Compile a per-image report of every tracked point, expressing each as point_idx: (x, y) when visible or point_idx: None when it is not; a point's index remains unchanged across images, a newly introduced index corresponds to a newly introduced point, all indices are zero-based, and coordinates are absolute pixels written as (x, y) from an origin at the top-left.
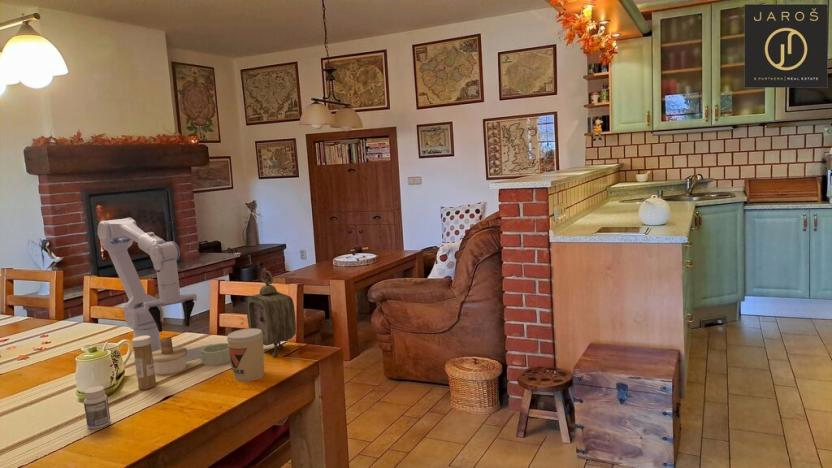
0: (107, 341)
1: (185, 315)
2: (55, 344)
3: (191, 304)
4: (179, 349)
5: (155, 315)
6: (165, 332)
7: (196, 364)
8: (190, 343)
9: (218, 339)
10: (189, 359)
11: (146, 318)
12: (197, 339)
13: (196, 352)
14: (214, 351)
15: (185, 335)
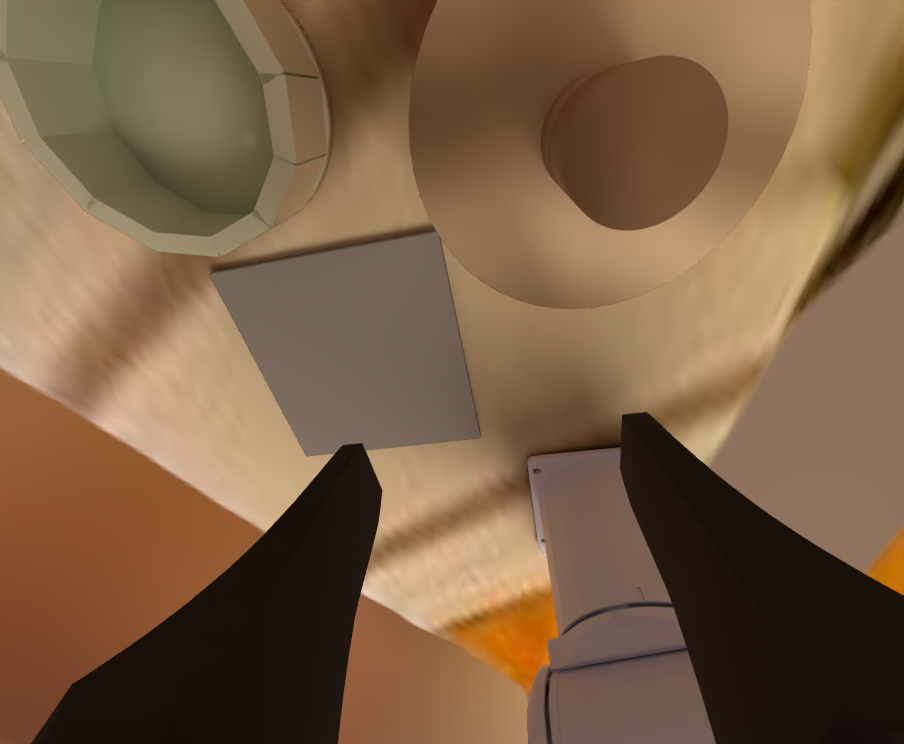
0: None
1: (335, 571)
2: None
3: (76, 722)
4: (476, 181)
5: (874, 605)
6: (488, 659)
7: (374, 131)
8: (408, 525)
9: (286, 509)
10: (417, 259)
11: (677, 700)
12: (379, 552)
13: (376, 372)
14: (232, 222)
15: (424, 608)
